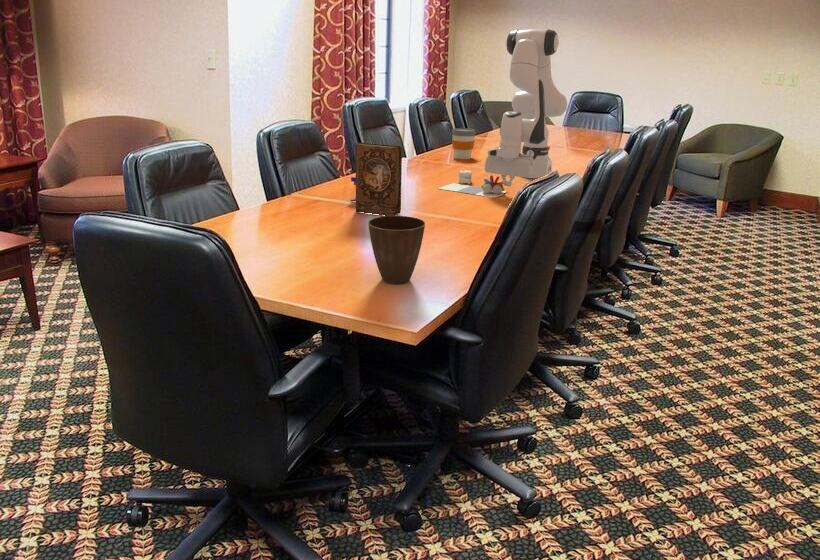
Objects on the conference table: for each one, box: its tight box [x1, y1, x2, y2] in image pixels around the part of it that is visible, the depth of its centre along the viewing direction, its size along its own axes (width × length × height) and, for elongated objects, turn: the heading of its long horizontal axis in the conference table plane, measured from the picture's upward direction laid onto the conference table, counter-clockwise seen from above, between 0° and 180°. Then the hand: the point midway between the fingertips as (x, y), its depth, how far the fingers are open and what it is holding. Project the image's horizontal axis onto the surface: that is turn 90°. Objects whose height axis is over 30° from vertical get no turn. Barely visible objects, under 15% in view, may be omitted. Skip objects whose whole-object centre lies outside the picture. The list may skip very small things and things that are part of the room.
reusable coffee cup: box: [451, 127, 476, 160], centre depth 372 cm, size 13×13×15 cm
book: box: [355, 142, 403, 216], centre depth 251 cm, size 16×6×25 cm, turn 71°
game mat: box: [437, 182, 507, 198], centre depth 297 cm, size 14×27×1 cm, turn 59°
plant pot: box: [367, 215, 426, 285], centre depth 185 cm, size 15×15×16 cm
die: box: [458, 170, 473, 185], centre depth 311 cm, size 5×5×5 cm
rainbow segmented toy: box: [480, 175, 505, 194], centre depth 291 cm, size 8×10×7 cm
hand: (507, 185), depth 288 cm, fingers closed
